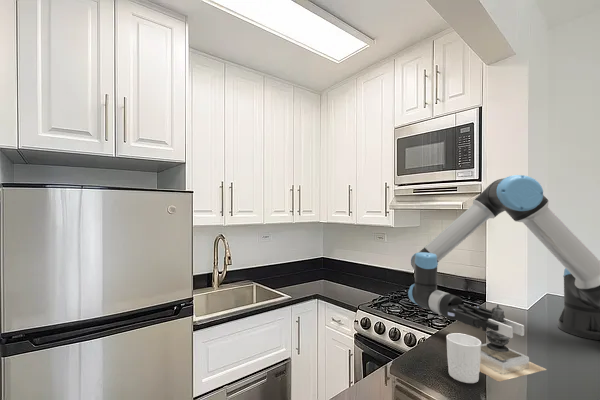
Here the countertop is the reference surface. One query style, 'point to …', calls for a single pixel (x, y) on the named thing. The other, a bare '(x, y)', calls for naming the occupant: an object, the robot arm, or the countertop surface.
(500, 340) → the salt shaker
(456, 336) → the white cup
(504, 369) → the collar
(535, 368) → the flange board
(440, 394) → the countertop surface
